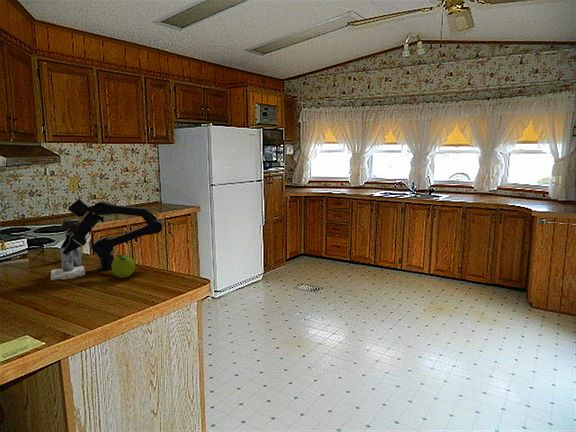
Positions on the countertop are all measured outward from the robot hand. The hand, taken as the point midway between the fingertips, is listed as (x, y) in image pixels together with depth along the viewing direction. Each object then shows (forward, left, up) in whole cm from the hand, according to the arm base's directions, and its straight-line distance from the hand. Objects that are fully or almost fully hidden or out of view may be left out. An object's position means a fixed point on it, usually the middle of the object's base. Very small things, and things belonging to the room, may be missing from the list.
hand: (62, 251), depth 178 cm
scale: (-1, -1, -10) cm, 11 cm away
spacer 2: (+9, -11, -10) cm, 18 cm away
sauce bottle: (+25, -21, -11) cm, 35 cm away
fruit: (-28, -10, -11) cm, 31 cm away
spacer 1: (-1, -1, -9) cm, 9 cm away
